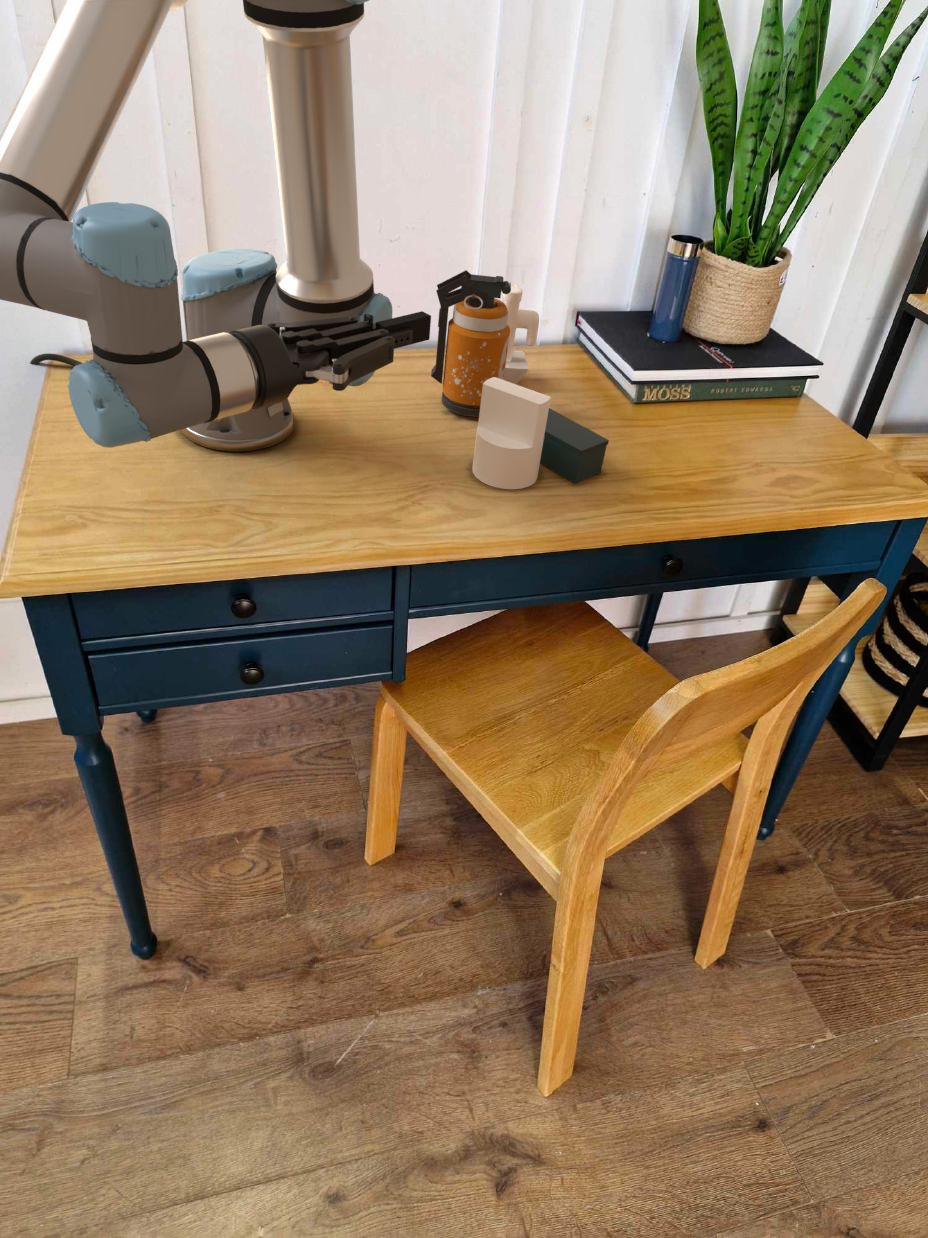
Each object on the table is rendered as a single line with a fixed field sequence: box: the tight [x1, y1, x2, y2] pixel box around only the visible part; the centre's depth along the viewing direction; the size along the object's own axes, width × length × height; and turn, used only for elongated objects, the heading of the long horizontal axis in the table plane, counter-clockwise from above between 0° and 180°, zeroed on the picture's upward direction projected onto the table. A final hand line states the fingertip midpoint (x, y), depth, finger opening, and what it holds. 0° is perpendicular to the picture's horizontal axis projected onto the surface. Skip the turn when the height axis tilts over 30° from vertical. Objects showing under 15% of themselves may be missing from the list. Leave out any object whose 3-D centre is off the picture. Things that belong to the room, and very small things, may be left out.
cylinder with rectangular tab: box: [471, 377, 552, 490], centre depth 122 cm, size 9×9×12 cm
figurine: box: [502, 283, 540, 385], centre depth 145 cm, size 7×9×15 cm
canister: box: [430, 269, 512, 418], centre depth 134 cm, size 9×11×20 cm
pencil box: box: [540, 407, 610, 484], centre depth 129 cm, size 15×6×5 cm, turn 43°
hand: (425, 325), depth 102 cm, fingers closed
